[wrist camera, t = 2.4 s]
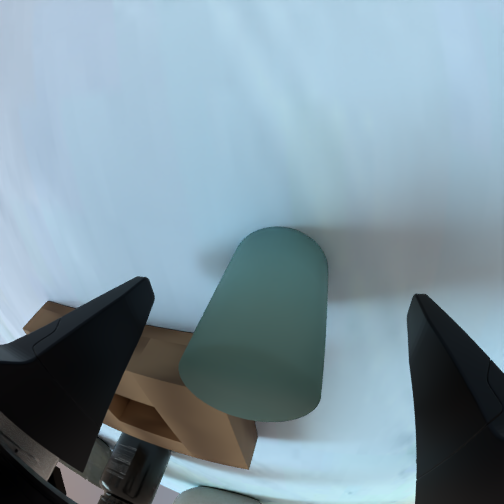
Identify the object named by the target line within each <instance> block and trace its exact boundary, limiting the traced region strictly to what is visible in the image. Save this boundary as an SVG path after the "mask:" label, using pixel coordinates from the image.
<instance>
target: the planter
mask: <svg viewBox="0 0 504 504" xmlns="http://www.w3.org/2000/svg"><path fill="white" fill-rule="evenodd" d="M173 504H261V503H260V502H259V501H257V500H255V499H253V498H250V497H247V496H244V495H240V494H236V493H232V492H228V491H224V490H220V489H215V488H210V487H194V488H191V489H188V490H186V491H184V492H182V493H181V494H179V495H178V496H177V498H176V499H175V500H174V502H173Z"/></svg>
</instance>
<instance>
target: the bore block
mask: <svg viewBox="0 0 504 504" xmlns="http://www.w3.org/2000/svg"><path fill="white" fill-rule="evenodd" d="M73 310H75V308H71V307H68V306H64V305H60V304H57V303H53V302H50V301H47V302H46V303H45V304H44V305H43V306H42V308H41V309H40V310H39V311H38V312H37V313H36V314H35V315H34V316H33V317H32V318H31V319H30V321H29V322H28V323H27V324H26V325H25V326H24V327H23V330H24V331H25V333H26V334H29V333H31V332H33V331H35V330H37V329H39V328H41V327H43V326H45V325H47V324H49V323H51V322H53V321H55V320H56V319H58V318H60V317H62V316H64V315H66V314H67V313H69V312H71V311H73ZM193 334H194V333H188V332H182V331H176V330H170V329H165V328H159V327H154V326H149V325H145V327H144V330H143V333H142V335H141V337H140V340H139V342H138V344H137V346H136V348H135V350H134V352H133V354H132V357H131V359H130V361H129V363H128V365H127V367H126V370H125V372H124V374H123V376H122V379H121V381H120V383H119V385H118V388H117V390H116V392H115V394H114V397H113V399H112V401H111V404H110V406H109V409H108V411H107V413H106V416H105V418H104V421H103V423H104V424H106V425H108V426H110V427H112V428H114V429H117V430H119V431H121V432H124V433H126V434H128V435H131V436H133V437H136V438H138V439H141V440H144V441H146V442H149V443H152V444H154V445H157V446H160V447H163V448H166V449H169V450H172V451H175V452H178V453H182V454H185V455H188V456H192V457H195V458H199V459H203V460H207V461H211V462H215V463H219V464H223V465H228V466H233V467H237V468H243V469H248V470H249V467H250V464H251V460H252V457H253V453H254V449H255V445H256V442H257V438H258V436H257V431H256V426H255V421H253V420H247V419H243V418H239V417H235V416H232V415H229V414H227V413H224V412H222V411H219V410H217V409H215V408H213V407H211V406H209V405H208V404H206V403H204V402H203V401H202V400H200V399H199V398H197V397H196V396H195V395H194V394H193V393H192V392H191V391H190V390H189V389H188V388H187V387H186V386H185V384H184V383H183V381H182V379H181V377H180V374H179V369H178V368H179V362H180V359H181V357H182V355H183V353H184V351H185V349H186V347H187V345H188V344H189V342H190V340H191V338H192V336H193Z"/></svg>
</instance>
